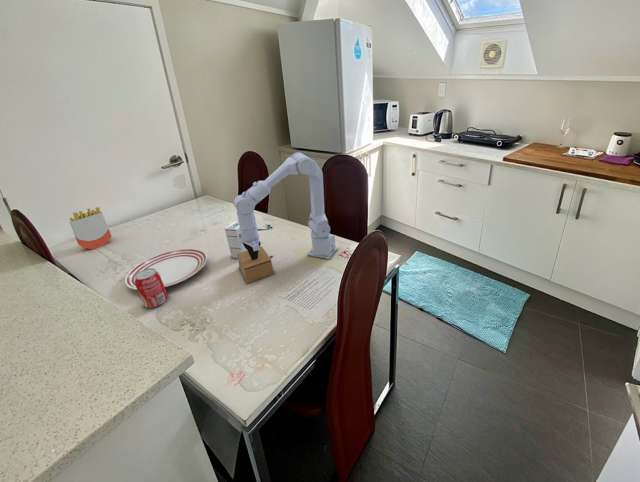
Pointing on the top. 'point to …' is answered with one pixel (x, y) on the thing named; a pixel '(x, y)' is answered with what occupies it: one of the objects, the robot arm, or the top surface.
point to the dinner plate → (171, 266)
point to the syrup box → (234, 239)
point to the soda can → (150, 287)
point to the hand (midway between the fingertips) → (254, 258)
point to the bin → (255, 267)
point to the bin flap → (255, 260)
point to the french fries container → (90, 229)
